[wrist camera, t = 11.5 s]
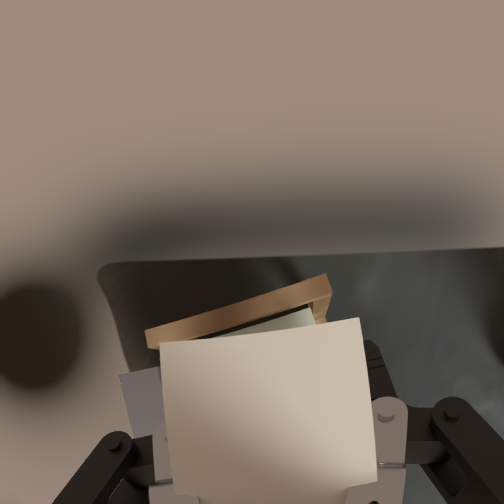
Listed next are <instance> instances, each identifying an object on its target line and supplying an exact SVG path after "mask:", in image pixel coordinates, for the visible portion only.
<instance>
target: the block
mask: <svg viewBox="0 0 504 504" xmlns="http://www.w3.org/2000/svg"><path fill="white" fill-rule="evenodd" d="M159 345H160V363H161V378H162V391H163V403H164V414H165V423H166V432H167V441H168V449H169V457H170V464H171V471H172V478H173V484H174V490H175V494H179V495H191V496H198V498H199V500H200V502H201V504H345V502H346V498H347V494H348V490H349V487H353V486H358V485H363V484H368V483H372V482H377V464H376V449H375V436H374V425H373V415H372V405H371V396H370V388H369V380H368V372H367V365H366V358H365V351H364V345H363V338H362V332H361V326H360V320H359V317H358V318H352V319H347V320H341V321H335V322H329V323H324V324H317V325H311V326H305V327H298V328H291V329H285V330H277V331H270V332H262V333H255V334H246V335H238V336H229V337H220V338H210V339H199V340H188V341H176V342H162V343H159Z"/></svg>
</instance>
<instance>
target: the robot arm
mask: <svg viewBox="0 0 504 504" xmlns="http://www.w3.org/2000/svg"><path fill="white" fill-rule="evenodd" d="M363 345H364V351H365V358H366V365H367V372H368V380H369V388H370V396H371V405H372V415H373V425H374V436H375V449H376V464H377V482H372V483H368V484H363V485H358V486H353V487H349V490H348V494H347V498H346V502H345V504H402V499H403V492H404V484H405V476H406V465H405V464H419V465H420V466H421V467H422V469H423V470H424V471H425V473H426V474H427V476H428V477H429V478H430V480H431V481H432V483H433V484H434V485H435V487H436V488H437V490H438V491H439V492H440V494H441V495H442V497H443V498H444V499H445V501H446V502H447V504H504V440H503V439H502V438H501V437H500V436H499V435H498V434H497V433H496V432H495V431H494V429H493V428H492V427H491V426H490V425H489V424H488V423H487V422H486V421H485V420H484V419H483V418H482V417H481V416H480V415H479V414H478V413H477V412H476V411H475V410H474V409H473V408H472V406H471V405H470V404H469V403H468V402H466V401H465V400H464V399H461V398H458V397H447V398H444V399H442V400H440V401H439V402H438V403H437V404H436V405H435V406H434V408H415V407H411V406H408V405H406V404H404V402H402V401H401V400H399V398H398V397H397V395H396V392H395V389H394V387H393V384H392V381H391V379H390V376H389V373H388V371H387V368H386V367H385V363H384V360H383V359H382V355H381V353H380V350H379V348H378V346H376V345H375V344H374V343H373V342H372V341H371V340H365V341H363ZM122 478H123V479H122ZM121 480H122V481H121ZM120 481H121V482H120ZM118 484H119V485H118ZM116 487H117V488H116ZM114 490H115V491H114ZM113 491H114V492H113ZM112 493H113V494H112ZM111 494H112V495H111ZM110 496H111V497H110ZM109 497H110V498H109ZM52 504H201V502H200V500H199V498H198V496H191V495H179V494H175V490H174V484H173V478H172V471H171V464H170V457H169V449H168V441H167V432H166V423H165V422H163V423H161V424H160V425H158V426H157V427H156V429H155V430H154V432H153V434H152V435H148V436H144V437H139V438H134V439H132V438H131V437H130V436H129V435H128V434H127V433H125V432H122V431H115V432H111V433H109V434H107V435H106V436H105V437H103V438H102V439H101V441H100V442H99V443H98V445H97V446H96V447H95V448H94V450H93V451H92V453H91V454H90V455H89V456H88V458H87V459H86V460H85V462H84V463H83V464H82V465H81V467H80V468H79V469H78V471H77V472H76V473H75V475H74V476H73V477H72V478H71V480H70V481H69V482H68V483H67V485H66V486H65V487H64V489H63V490H62V491H61V493H60V494H59V495H58V496H57V498H56V499H55V500H54V502H53V503H52Z"/></svg>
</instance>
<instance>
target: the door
mask: <svg viewBox="0 0 504 504" xmlns="http://www.w3.org/2000/svg"><path fill="white" fill-rule="evenodd" d="M311 325H316V323H315V320H314V317H313V314H312V311H311V308H310V307H309V308H307V309H304V310H301V311H298V312H295V313H292V314H289V315H286V316H282V317H279V318H276V319H273V320H270V321H267V322H264V323H261V324H257V325H254V326H251V327H248V328H244V329H241V330H238V331H234V332H231V333H228V334H224V335H221V336H217V337H214V338H220V337H229V336H238V335H246V334H255V333H262V332H270V331H277V330H285V329H291V328H298V327H305V326H311ZM119 377H120V382H121V386H122V391H123V395H124V399H125V404H126V407H127V412H128V416H129V420H130V423H131V427H132V431H133V434H134V438H139V437H144V436H148V435H152V434H153V432H154V430H155V429H156V427H157V426H158V425H160V424H161V423H163V422H165V414H164V403H163V391H162V378H161V367H153V368H149V369H145V370H140V371H136V372H131V373H127V374H121V375H119Z"/></svg>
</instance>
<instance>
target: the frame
mask: <svg viewBox="0 0 504 504" xmlns="http://www.w3.org/2000/svg"><path fill="white" fill-rule="evenodd" d="M331 295H332V289H331V286H330V284H329V281H328V278H327V276H326V273H325V274H322V275H319V276H317V277H314V278H311V279H308V280H305V281H302V282H299V283H296V284H293V285H290V286H287V287H284V288H281V289H278V290H275V291H272V292H269V293H266V294H263V295H260V296H257V297H253V298H250V299H247V300H244V301H241V302H238V303H235V304H231V305H228V306H225V307H222V308H218V309H215V310H212V311H209V312H205V313H202V314H199V315H196V316H192V317H189V318H185V319H182V320H179V321H175V322H172V323H168V324H165V325H162V326H158V327H155V328H151V329H148V330H145V335H146V340H147V345H148V348H150V349H156V350H160V345H159V343H162V342H176V341H188V340H199V339H198V338H197V337H200V336H204V335H207V334H211V333H214V332H218V331H221V330H225V329H228V328H231V327H235V326H238V325H241V324H244V323H248V322H251V321H254V320H257V319H261V318H264V317H267V316H270V315H273V314H276V313H279V312H282V311H285V310H288V309H291V308H294V307H297V306H300V305H303V304H306V303H308V308H309V307H310V308H311V311H312V314H313V317H314V320H315V323H316V325H317V324H324V323H327V320H326V318H325V316H326V313H327V309H328V306H329V302H330V299H331Z"/></svg>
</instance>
